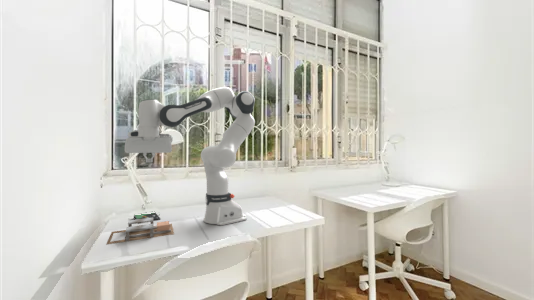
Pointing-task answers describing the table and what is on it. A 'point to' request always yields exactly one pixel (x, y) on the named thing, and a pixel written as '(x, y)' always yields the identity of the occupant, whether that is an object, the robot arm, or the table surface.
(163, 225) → the block
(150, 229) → the brown wooden flat frame
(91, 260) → the table surface
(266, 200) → the table surface
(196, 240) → the table surface
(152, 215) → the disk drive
